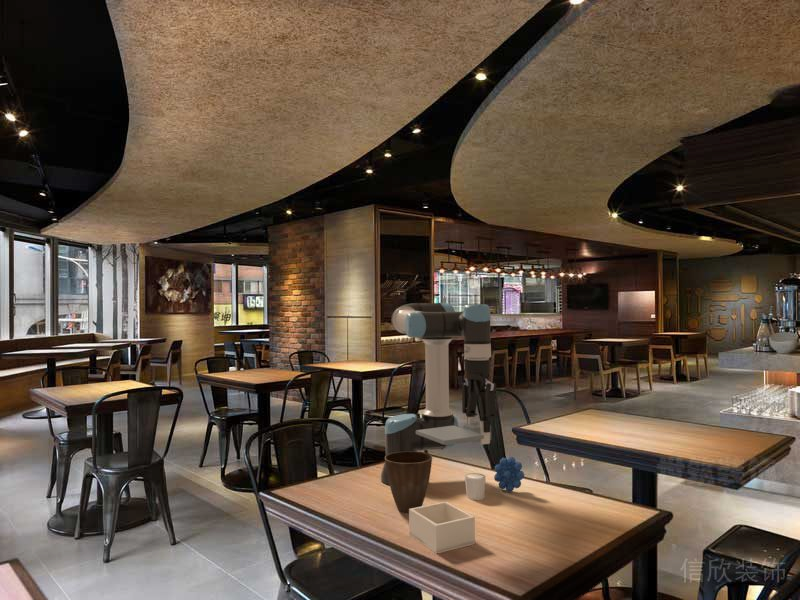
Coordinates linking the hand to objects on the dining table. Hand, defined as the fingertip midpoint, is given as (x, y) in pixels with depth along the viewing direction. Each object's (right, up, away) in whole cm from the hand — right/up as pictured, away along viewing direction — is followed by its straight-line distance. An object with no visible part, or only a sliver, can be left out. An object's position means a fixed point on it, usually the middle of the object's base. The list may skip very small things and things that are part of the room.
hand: (478, 441), depth 154 cm
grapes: (+16, -25, +32) cm, 44 cm away
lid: (-6, +1, -3) cm, 7 cm away
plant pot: (-19, -25, +17) cm, 36 cm away
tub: (-11, -24, -7) cm, 28 cm away
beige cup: (+3, -25, +27) cm, 37 cm away
